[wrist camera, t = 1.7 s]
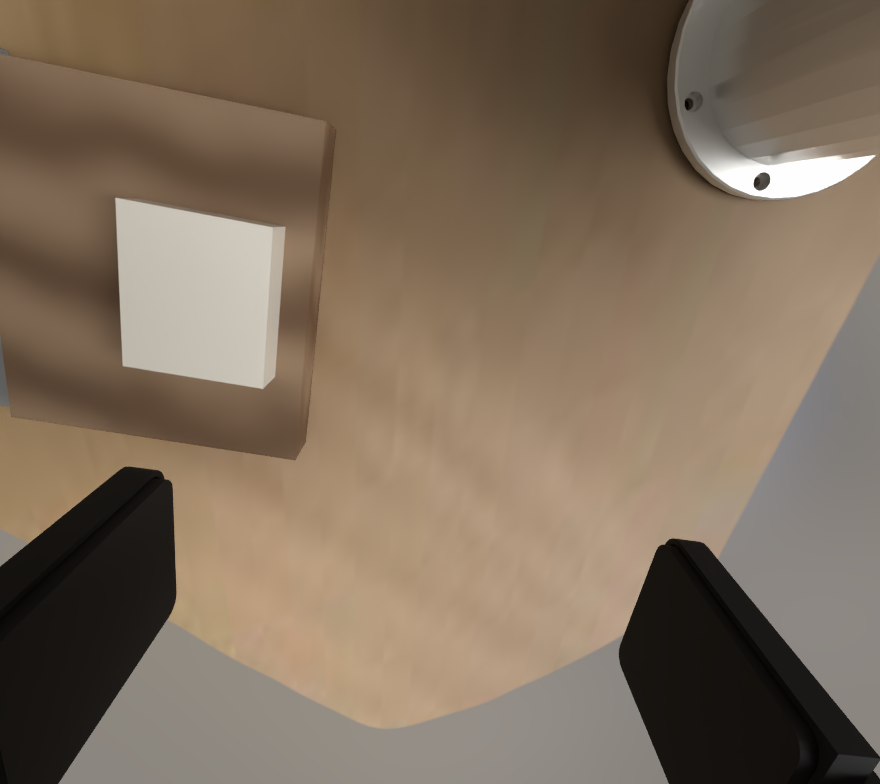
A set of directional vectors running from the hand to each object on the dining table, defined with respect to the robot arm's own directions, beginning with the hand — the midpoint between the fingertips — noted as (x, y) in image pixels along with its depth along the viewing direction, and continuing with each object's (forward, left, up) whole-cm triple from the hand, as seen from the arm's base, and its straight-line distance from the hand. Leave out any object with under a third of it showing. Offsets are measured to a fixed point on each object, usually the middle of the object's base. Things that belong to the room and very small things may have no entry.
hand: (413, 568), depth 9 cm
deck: (-1, -14, -20) cm, 25 cm away
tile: (-1, -11, -18) cm, 21 cm away
